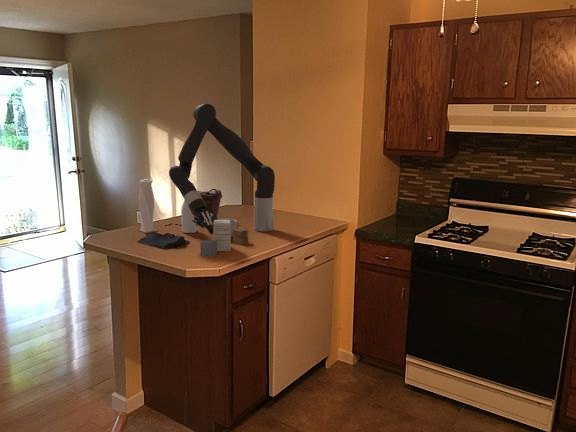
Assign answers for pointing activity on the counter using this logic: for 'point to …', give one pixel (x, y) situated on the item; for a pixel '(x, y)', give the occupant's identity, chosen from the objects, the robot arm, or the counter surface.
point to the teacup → (231, 224)
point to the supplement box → (222, 235)
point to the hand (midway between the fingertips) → (213, 233)
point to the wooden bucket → (212, 200)
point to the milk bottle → (187, 220)
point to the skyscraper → (146, 205)
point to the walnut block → (240, 236)
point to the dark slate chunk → (163, 241)
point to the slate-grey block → (208, 248)
